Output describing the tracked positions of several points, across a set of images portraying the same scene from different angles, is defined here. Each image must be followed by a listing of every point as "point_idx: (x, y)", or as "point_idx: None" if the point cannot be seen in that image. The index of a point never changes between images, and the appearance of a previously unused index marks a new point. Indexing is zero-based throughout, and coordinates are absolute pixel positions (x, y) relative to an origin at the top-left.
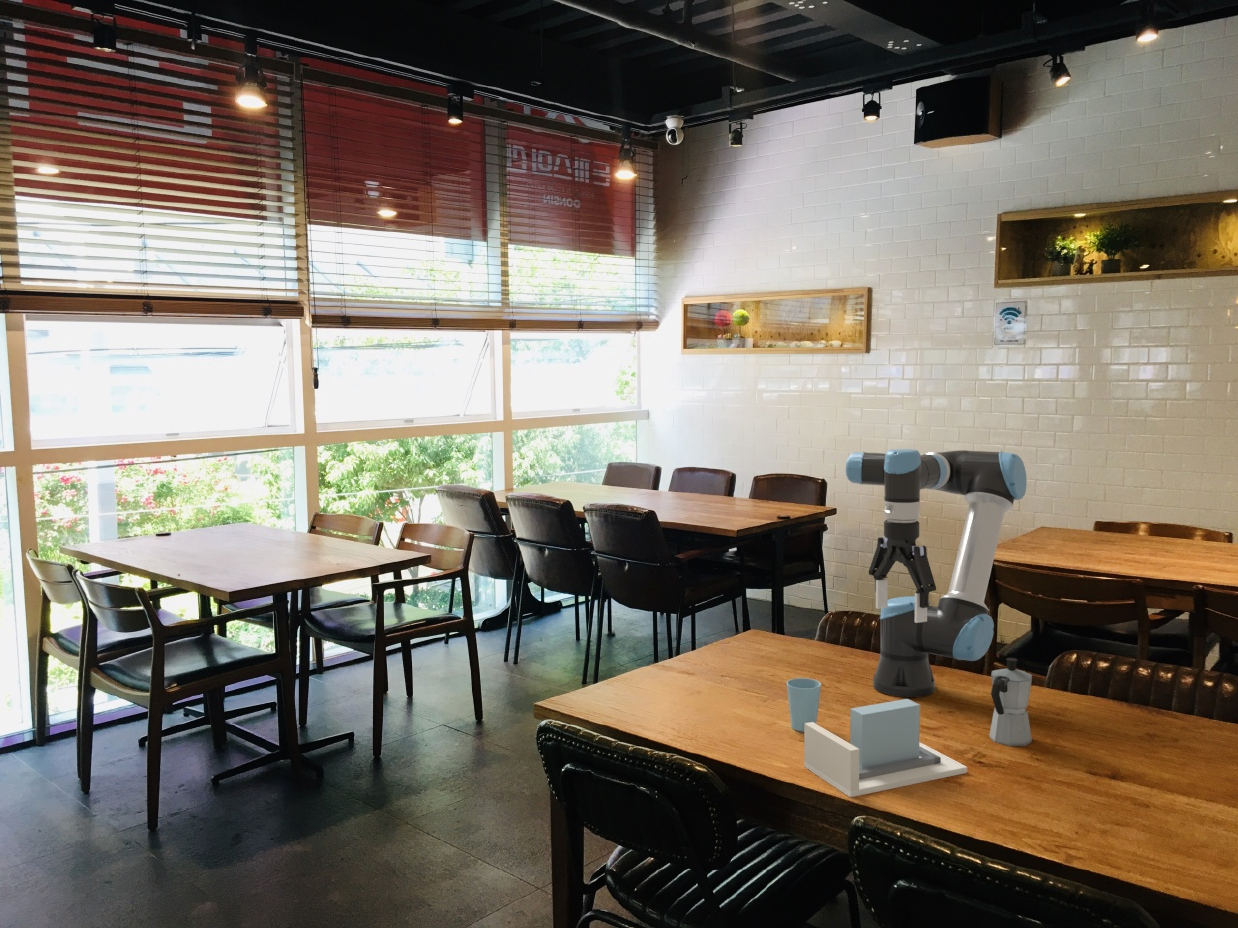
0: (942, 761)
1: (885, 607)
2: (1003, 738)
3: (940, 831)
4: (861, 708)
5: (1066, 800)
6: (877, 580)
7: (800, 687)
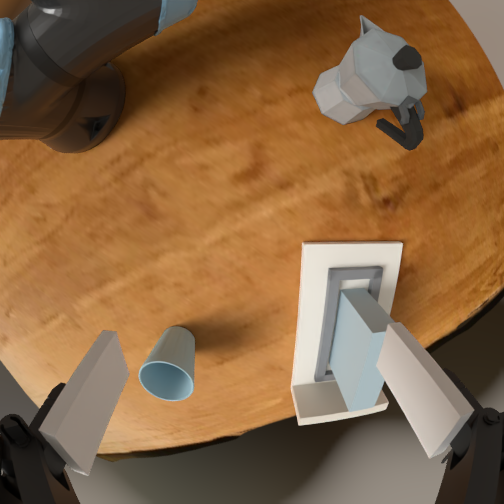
0: (378, 260)
1: (118, 342)
2: (357, 119)
3: (444, 339)
4: (357, 401)
5: (474, 199)
6: (80, 471)
7: (146, 365)
